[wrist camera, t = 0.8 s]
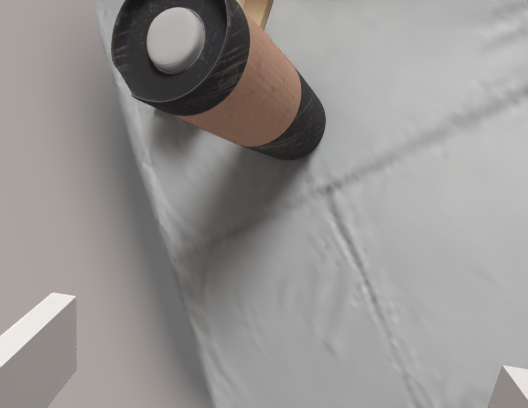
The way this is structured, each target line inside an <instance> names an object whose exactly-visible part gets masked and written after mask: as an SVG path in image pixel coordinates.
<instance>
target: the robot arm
mask: <svg viewBox="0 0 528 408" xmlns="http://www.w3.org/2000/svg"><path fill="white" fill-rule="evenodd" d="M75 371H76V296H71V295H65V294H59V293H51V294H50V295H49V296H48V297H47V298H45V299H44V300H43V301H42V302H41V303H39V304H38V305H37V306H36V307H35V308H33V309H32V310H31V311H30V312H29V313H27V314H26V315H25V316H24V317H23V318H21V319H20V320H19V321H18V322H17V323H15V324H14V325H13V326H12V327H11V328H9V329H8V330H7V331H6V332H5V333H4V334H2V335H1V336H0V408H47V407H48V406H49V404H50V403H51V402H52V400H53V399H54V398H55V396H56V395H57V394H58V393H59V392H60V390H61V389H62V388H63V386H64V385H65V384H66V383H67V381H68V380H69V379H70V378H71V376H72V375H73V374H74V372H75ZM488 408H528V369H523V368H516V367H510V366H504V365H502V368H501V371H500V374H499V377H498V379H497V382H496V385H495V388H494V391H493V394H492V396H491V399H490V402H489V405H488Z"/></svg>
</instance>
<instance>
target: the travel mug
mask: <svg viewBox="0 0 528 408" xmlns="http://www.w3.org/2000/svg"><path fill="white" fill-rule="evenodd" d="M111 54H112V61H113V63H114V65H115V67H116V68H117V69H118V71H119V72H120V73H121V75H122V77H123V78H124V80H125V82H126V84H127V85H128V87H129V89H130V91H131V93H132V96H133V97H134V98H136V99H137V100H139V101H142V102H144V103H146V104H149V105H151V106H153V107H155V108H158V109H160V110H162V111H164V112H167V113H169V114H171V115H173V116H175V117H178V118H180V119H182V120H184V121H186V122H189V123H191V124H193V125H195V126H197V127H200V128H202V129H204V130H206V131H208V132H211V133H213V134H215V135H217V136H220V137H222V138H224V139H226V140H228V141H231V142H233V143H235V144H238V145H240V146H243V147H246V148H249V149H252V150H255V151H257V152H260V153H263V154H266V155H269V156H271V157H274V158H278V159H282V160H293V159H298V158H301V157H303V156H305V155H307V154H308V153H310V152H311V151H312V150H313V149H314V148H315V147H316V146H317V144H318V143H319V142H320V140H321V138H322V136H323V133H324V130H325V123H326V118H325V112H324V108H323V106H322V104H321V102H320V100H319V99H318V97H317V96H316V95H315V93H314V92H313V91H312V89H311V88H310V87H309V85H308V84H307V83H306V81H305V80H304V79H303V77H302V76H301V75H300V73H299V72H298V71H297V69H296V68H295V67H294V65H293V64H292V63H291V62H290V60H289V59H288V58H287V57H286V56H285V55H284V54H283V53H282V51H281V50H280V49H279V48H278V47H277V46H276V45H275V44H274V42H273V41H272V40H271V39H270V38H269V37H268V36H267V35H266V34H265V32H264V31H263V30H262V29H261V28H260V27H259V26H258V25H257V23H256V22H255V21H254V20H253V19H252V18H251V17H250V16H249V14H248V13H247V12H246V11H245V10H244V9H243V8H242V7H241V5H240V4H239V3H238V2H237V1H236V0H125V1H124V3H123V5H122V7H121V9H120V11H119V13H118V16H117V19H116V22H115V25H114V29H113V34H112V43H111Z"/></svg>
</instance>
